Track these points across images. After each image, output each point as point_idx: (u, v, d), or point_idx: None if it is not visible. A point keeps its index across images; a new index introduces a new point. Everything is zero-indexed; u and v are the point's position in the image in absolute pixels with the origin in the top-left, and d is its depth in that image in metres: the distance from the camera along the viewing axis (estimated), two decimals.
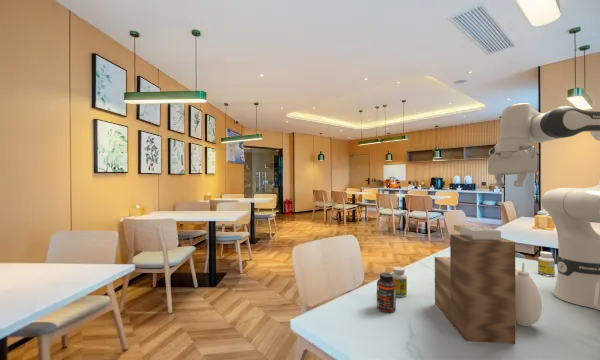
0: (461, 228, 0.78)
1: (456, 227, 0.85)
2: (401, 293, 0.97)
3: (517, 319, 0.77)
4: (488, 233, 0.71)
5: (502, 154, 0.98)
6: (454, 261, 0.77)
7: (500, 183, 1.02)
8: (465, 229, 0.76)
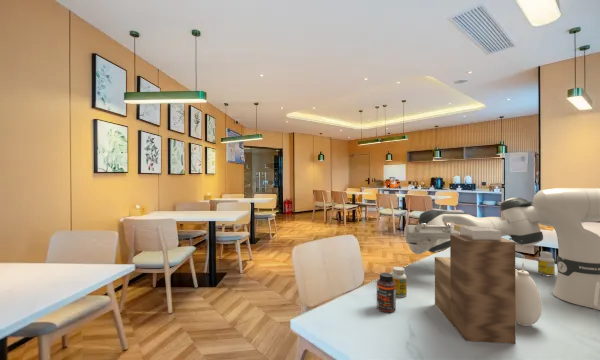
0: (461, 228, 0.78)
1: (456, 227, 0.85)
2: (401, 293, 0.97)
3: (517, 319, 0.77)
4: (488, 233, 0.71)
5: None
6: (454, 261, 0.77)
7: None
8: (465, 229, 0.76)
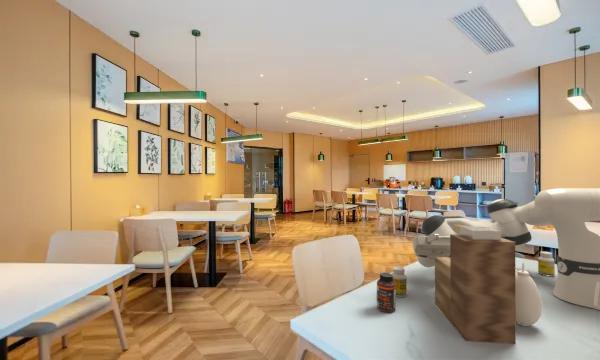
0: (461, 228, 0.78)
1: (456, 227, 0.85)
2: (401, 293, 0.97)
3: (517, 319, 0.77)
4: (488, 233, 0.71)
5: None
6: (454, 261, 0.77)
7: None
8: (465, 229, 0.76)
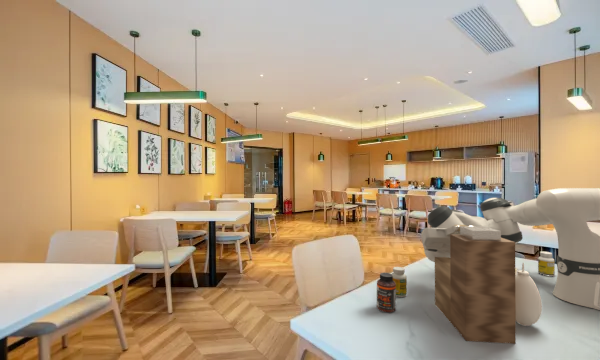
0: (461, 228, 0.78)
1: None
2: (401, 293, 0.97)
3: (517, 319, 0.77)
4: (488, 233, 0.71)
5: None
6: (454, 261, 0.77)
7: None
8: (465, 229, 0.76)
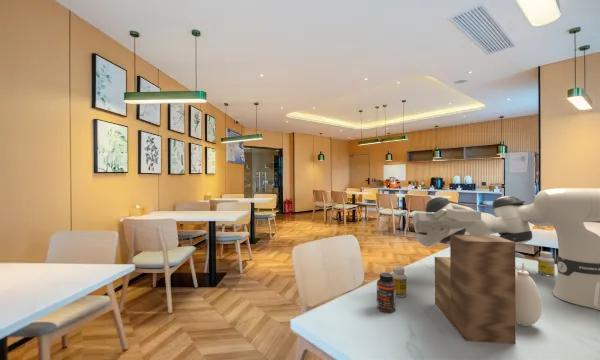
0: (447, 210, 0.87)
1: None
2: (401, 293, 0.97)
3: (517, 319, 0.77)
4: (470, 213, 0.81)
5: None
6: (454, 261, 0.77)
7: None
8: (450, 211, 0.85)
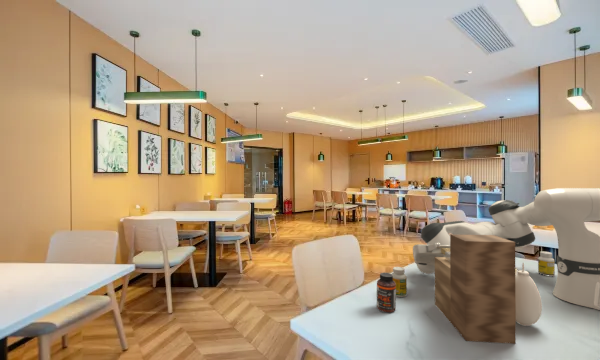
0: (446, 253, 0.88)
1: (443, 250, 0.95)
2: (401, 293, 0.97)
3: (517, 319, 0.77)
4: None
5: None
6: (454, 261, 0.77)
7: None
8: (449, 255, 0.86)
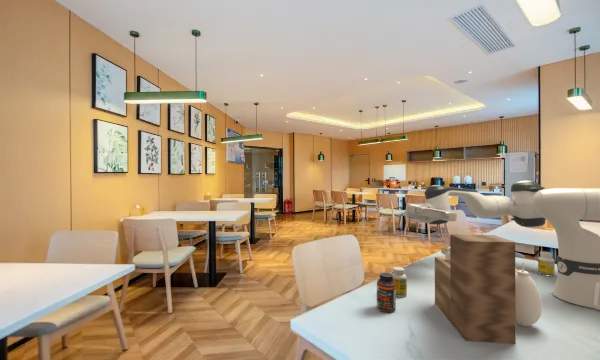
0: (446, 253, 0.88)
1: (443, 250, 0.95)
2: (401, 293, 0.97)
3: (517, 319, 0.77)
4: None
5: (427, 206, 1.22)
6: (454, 261, 0.77)
7: None
8: (449, 255, 0.86)
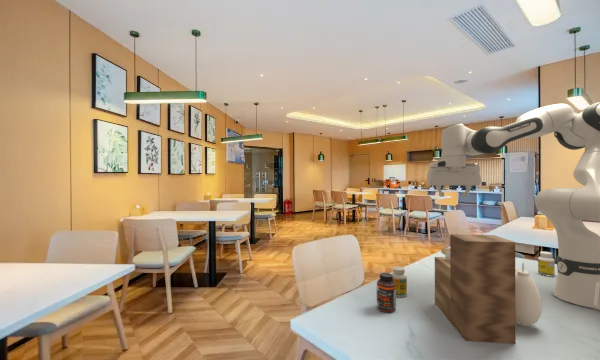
0: (446, 253, 0.88)
1: (443, 250, 0.95)
2: (401, 293, 0.97)
3: (517, 319, 0.77)
4: None
5: (456, 169, 1.10)
6: (454, 261, 0.77)
7: None
8: (449, 255, 0.86)
